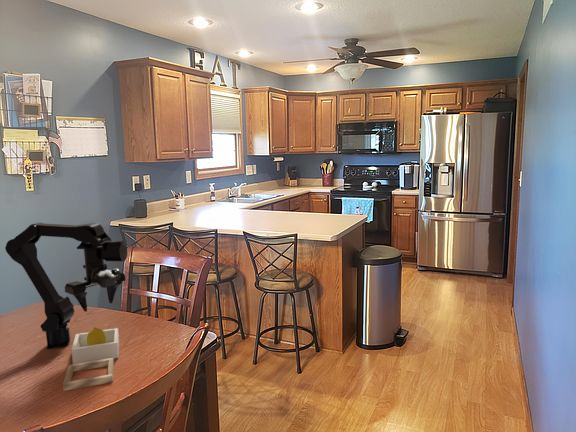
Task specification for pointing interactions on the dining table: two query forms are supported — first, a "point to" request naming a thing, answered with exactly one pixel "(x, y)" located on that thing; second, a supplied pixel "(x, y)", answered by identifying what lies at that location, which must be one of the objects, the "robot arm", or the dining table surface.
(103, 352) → the bin
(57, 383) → the dining table surface
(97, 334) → the lemon
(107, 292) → the robot arm
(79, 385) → the rectangular frame
